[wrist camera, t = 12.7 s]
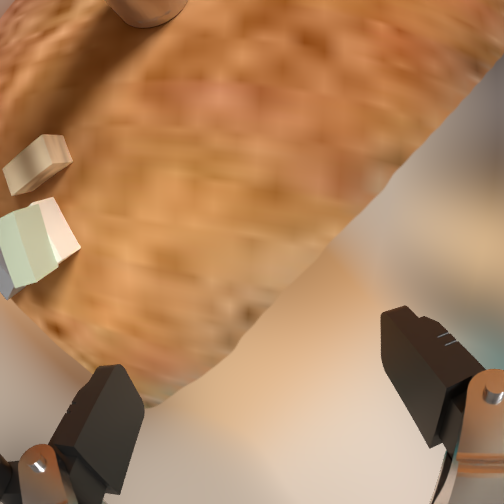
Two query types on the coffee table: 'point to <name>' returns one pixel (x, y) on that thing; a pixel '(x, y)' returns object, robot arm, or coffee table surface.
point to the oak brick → (37, 164)
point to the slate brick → (6, 280)
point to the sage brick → (26, 246)
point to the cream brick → (57, 230)
